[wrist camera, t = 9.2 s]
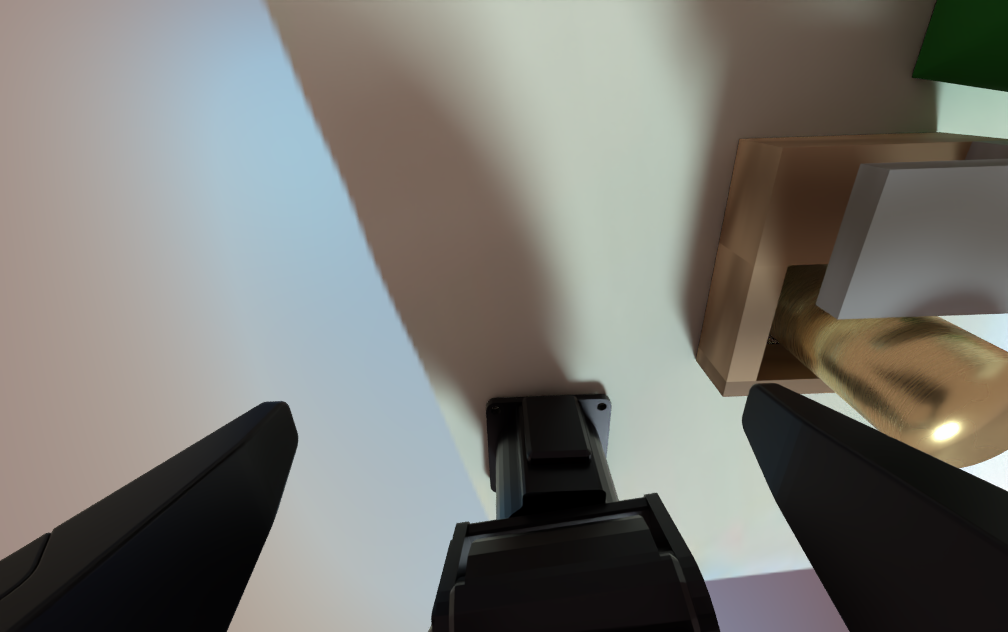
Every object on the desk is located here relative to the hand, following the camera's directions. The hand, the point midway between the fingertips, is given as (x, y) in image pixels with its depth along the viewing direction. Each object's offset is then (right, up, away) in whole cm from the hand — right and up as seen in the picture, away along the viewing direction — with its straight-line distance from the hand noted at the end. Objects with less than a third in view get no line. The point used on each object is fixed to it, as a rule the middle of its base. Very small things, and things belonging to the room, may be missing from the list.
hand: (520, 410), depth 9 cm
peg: (+13, +3, +12) cm, 18 cm away
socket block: (+13, +4, +12) cm, 18 cm away
